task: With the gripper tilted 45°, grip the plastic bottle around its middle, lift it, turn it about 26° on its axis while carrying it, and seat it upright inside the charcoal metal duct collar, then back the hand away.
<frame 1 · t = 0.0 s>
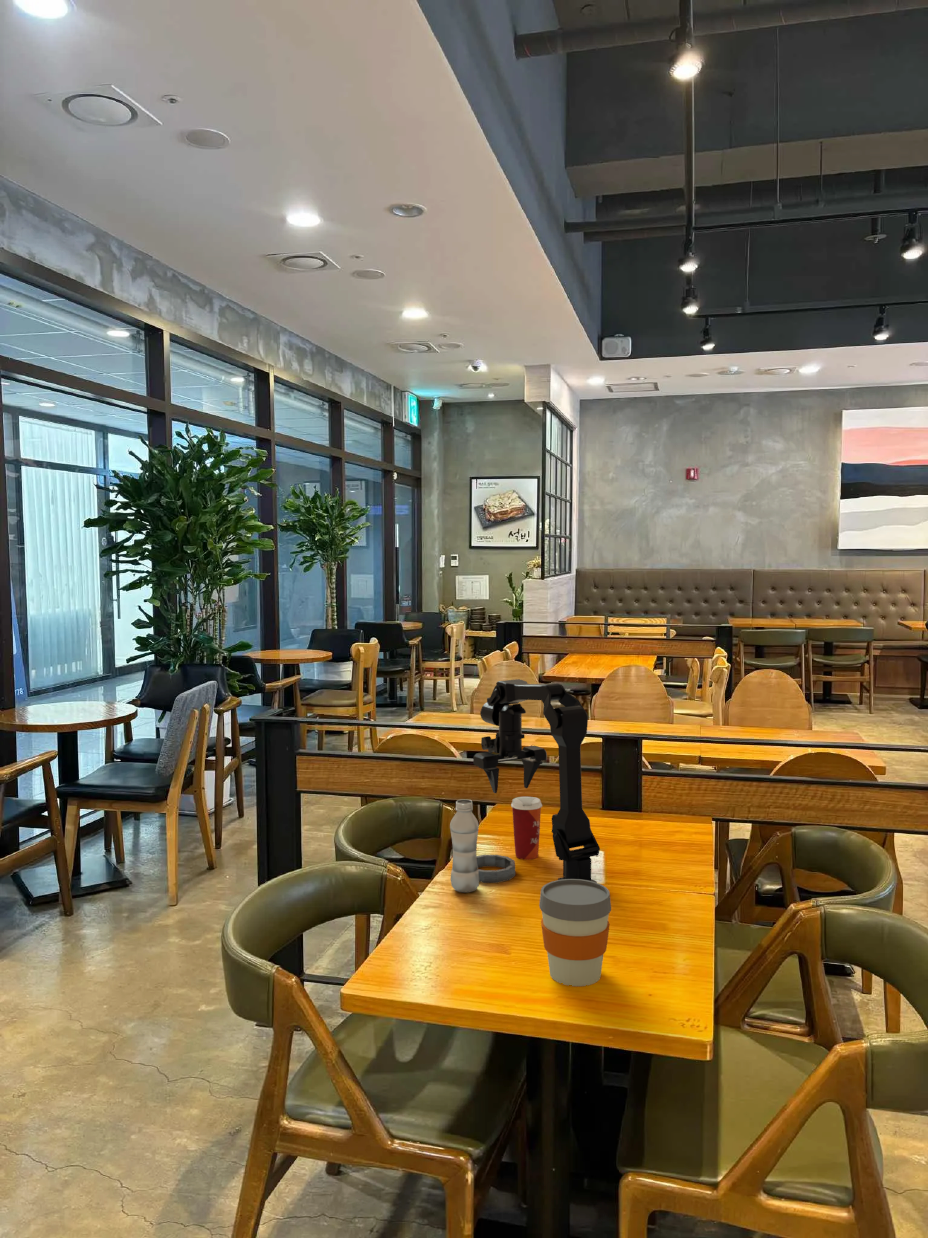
hand: (510, 790, 223), 15 cm above the table, tool pointing down, fingers open, 9 cm apart
duct collar: (490, 873, 205), on the table
reusable coffee cup: (575, 975, 156), on the table
plastic bottle: (465, 891, 195), on the table
paper cup: (526, 856, 217), on the table
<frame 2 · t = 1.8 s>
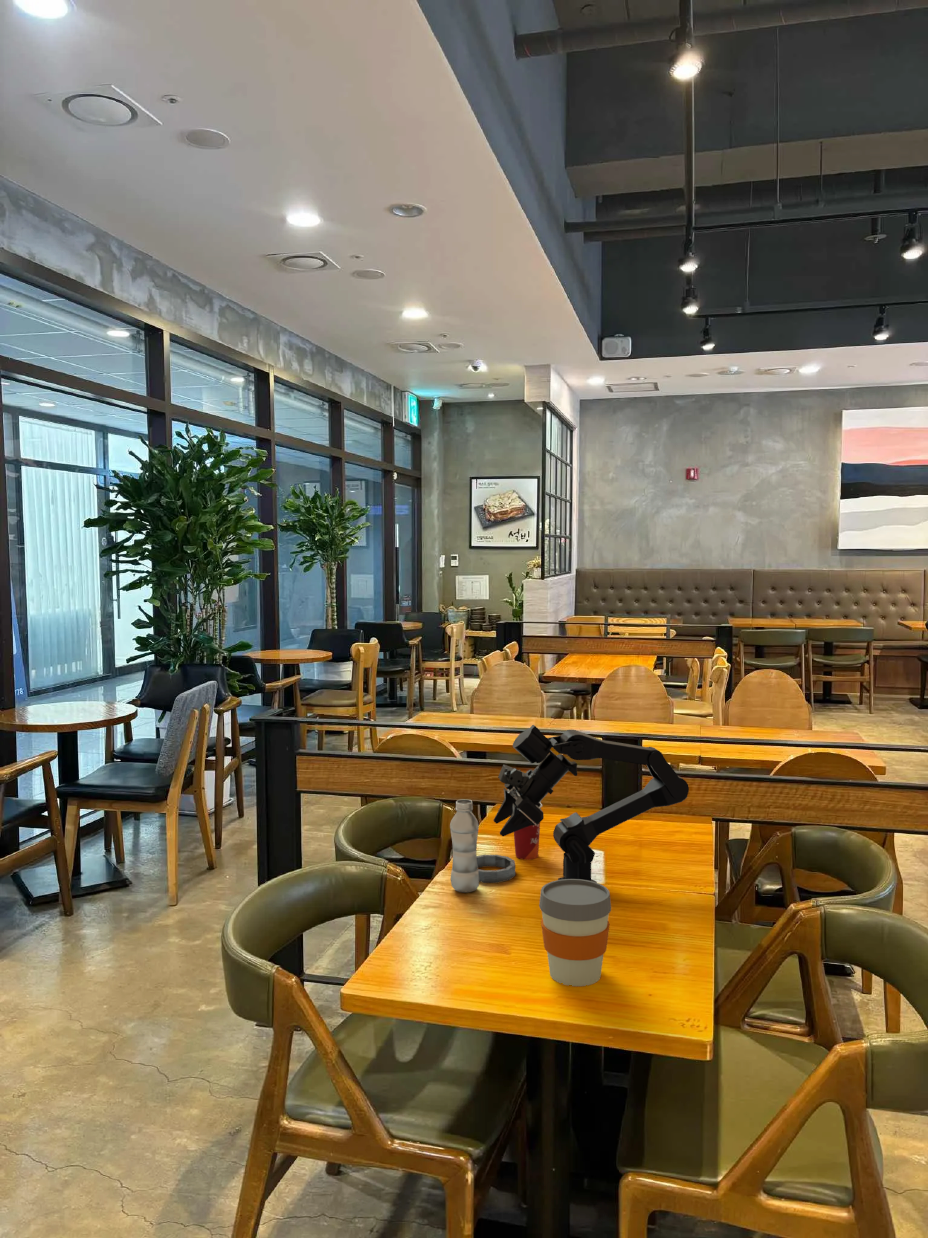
hand: (497, 828, 196), 13 cm above the table, tool tilted 45°, fingers open, 9 cm apart
nothing on the table moved.
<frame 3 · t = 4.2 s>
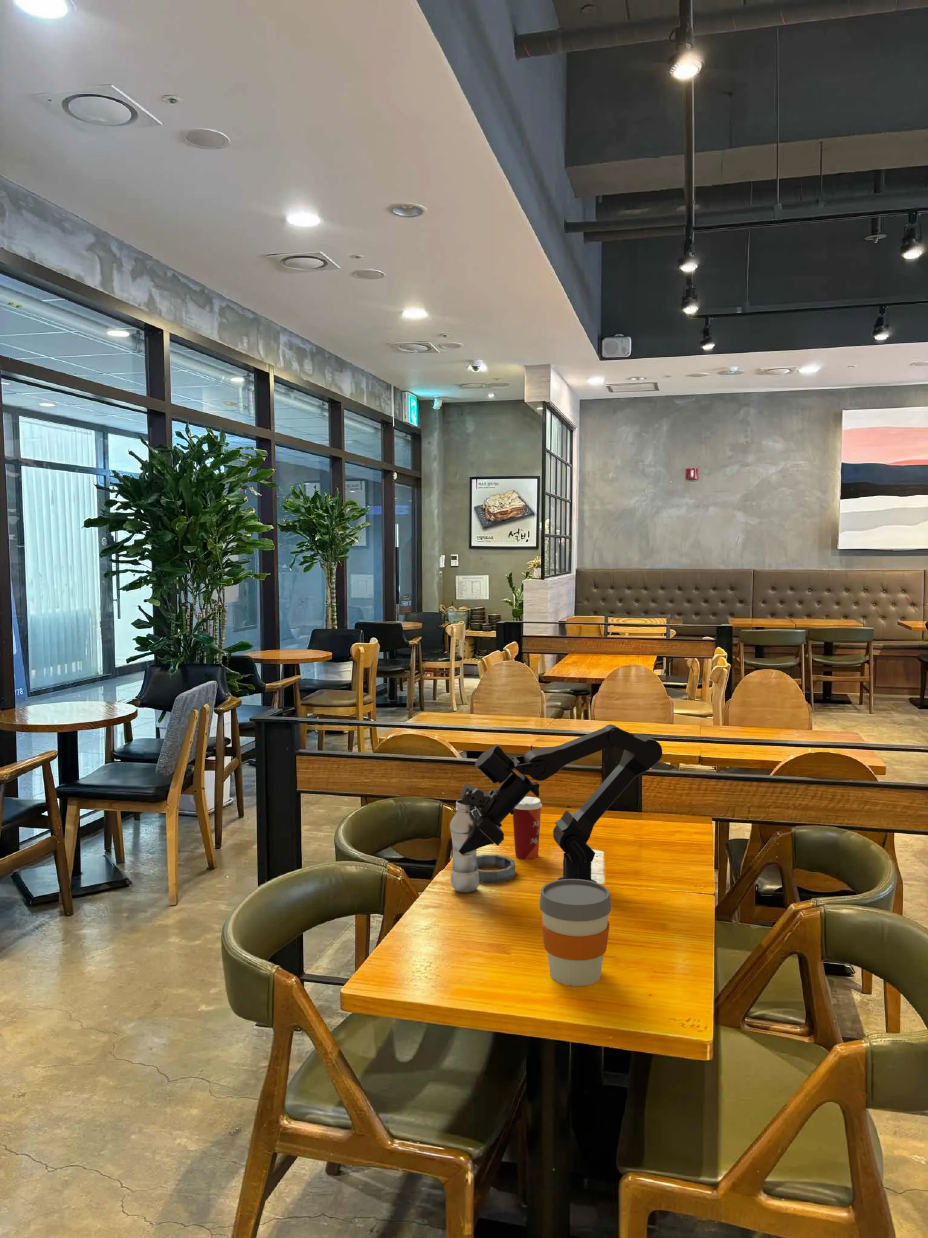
hand: (458, 848, 194), 10 cm above the table, tool tilted 45°, fingers closed on plastic bottle, 6 cm apart
plastic bottle: (465, 891, 195), on the table, touching gripper
everything else where it was.
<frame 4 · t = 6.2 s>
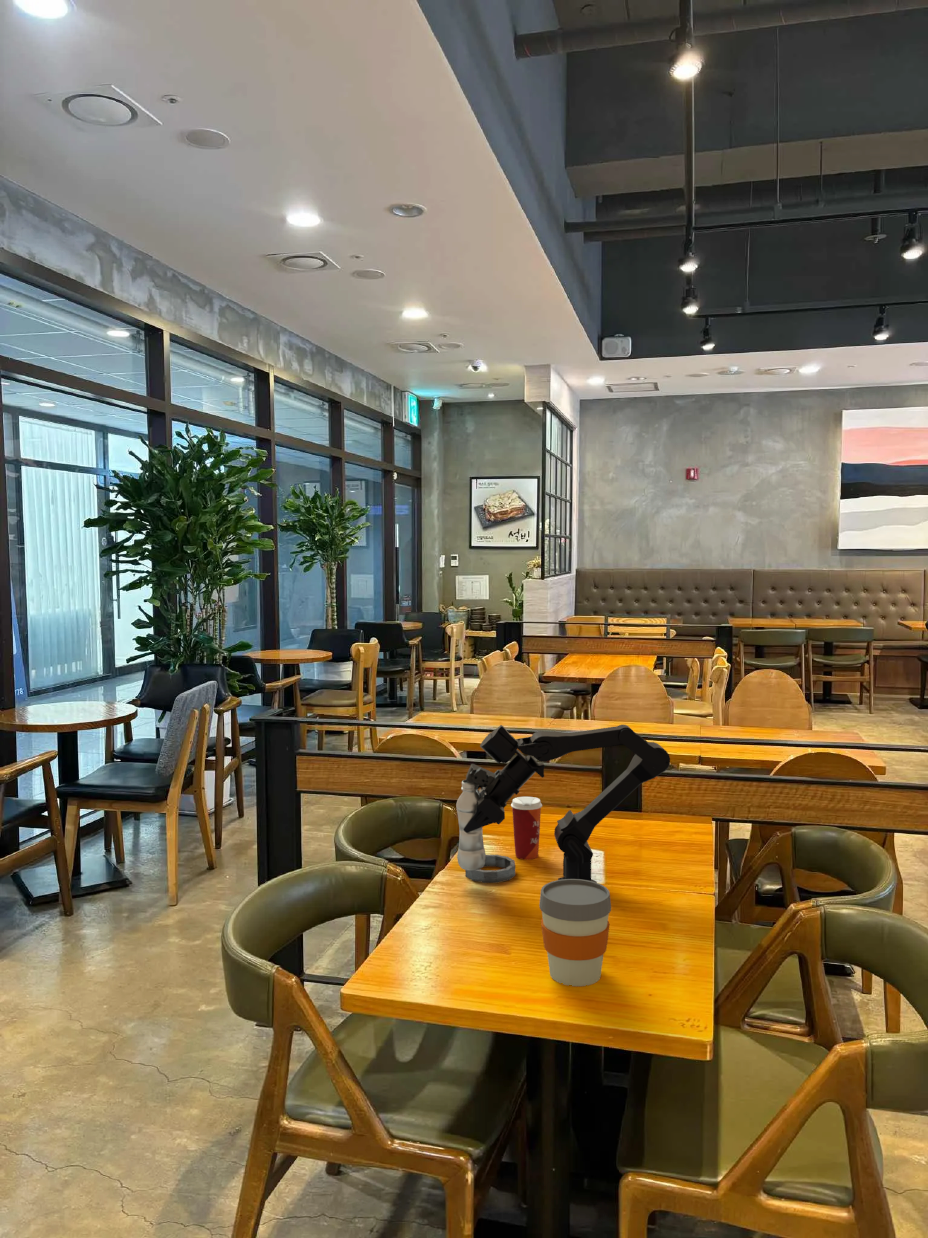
hand: (464, 826, 198), 13 cm above the table, tool tilted 45°, fingers closed on plastic bottle, 6 cm apart
plastic bottle: (471, 869, 198), point 3 cm above the table, touching gripper
everything else where it was.
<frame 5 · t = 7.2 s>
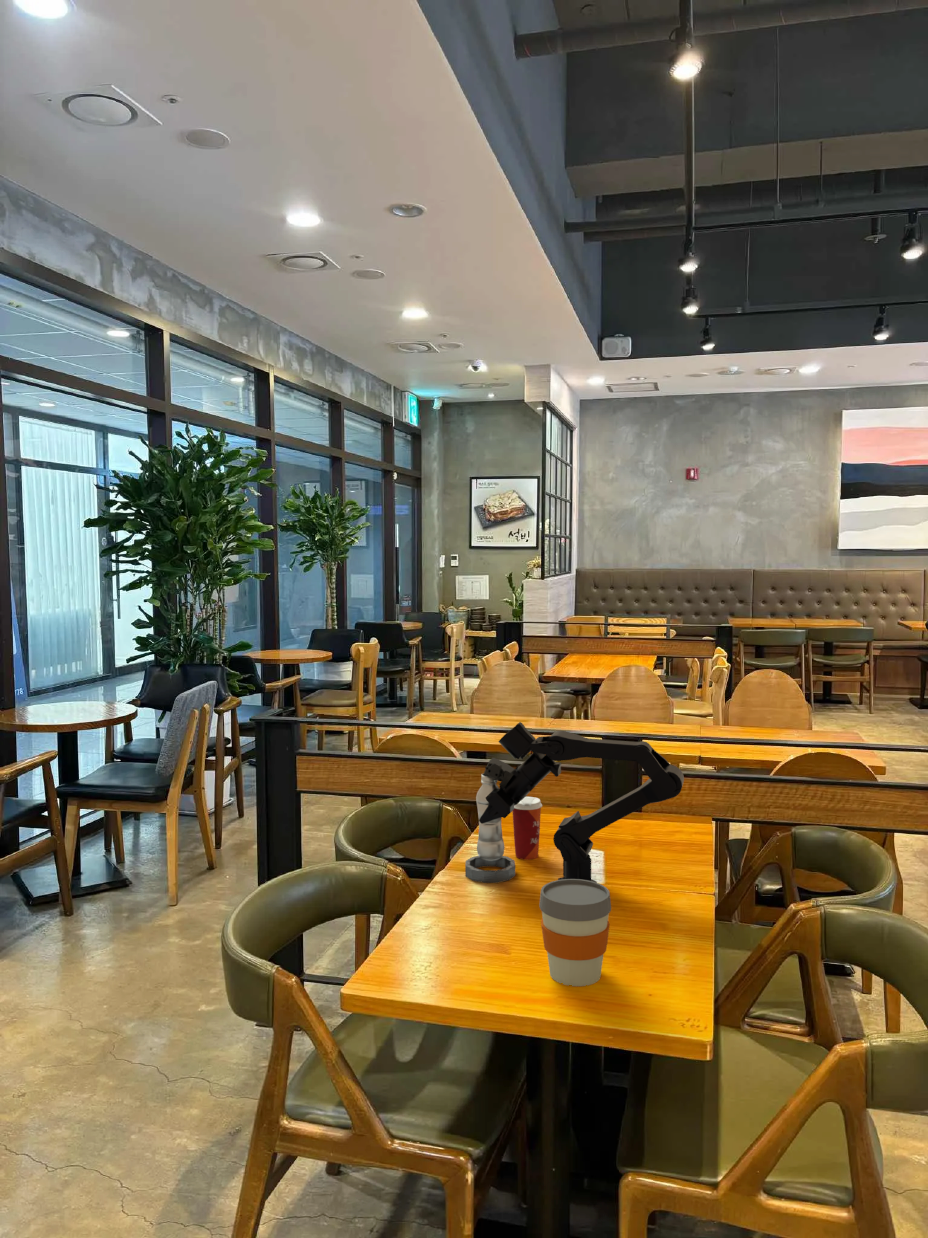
hand: (484, 818, 205), 13 cm above the table, tool tilted 45°, fingers closed on plastic bottle, 6 cm apart
plastic bottle: (490, 859, 205), point 3 cm above the table, touching gripper
everything else where it was.
when the fingers open (11 cm above the table, at t = 8.1 s): plastic bottle drops 1 cm, resting in duct collar.
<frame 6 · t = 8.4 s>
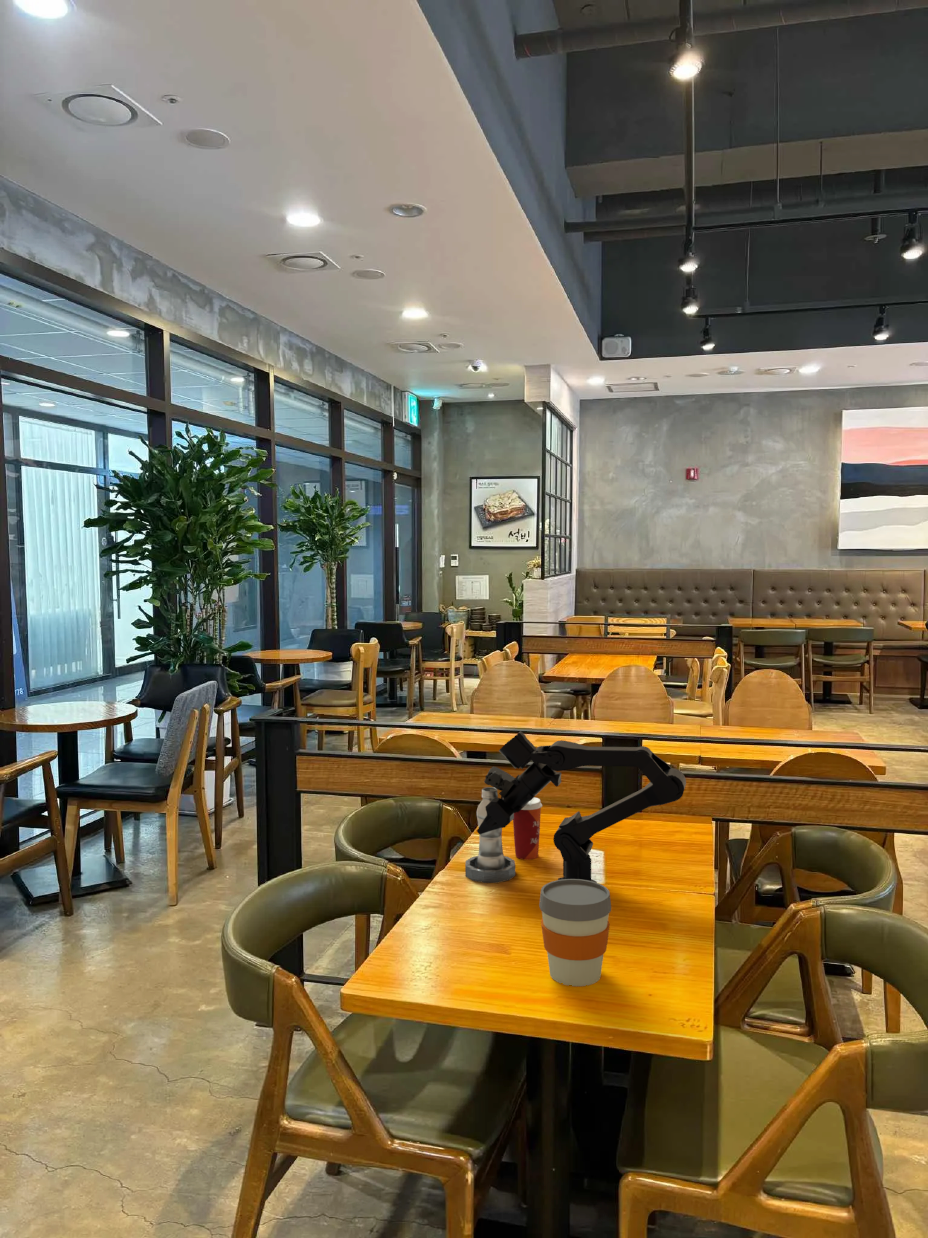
hand: (484, 826, 205), 11 cm above the table, tool tilted 45°, fingers open, 9 cm apart
plastic bottle: (491, 874, 205), resting in duct collar
everything else where it was.
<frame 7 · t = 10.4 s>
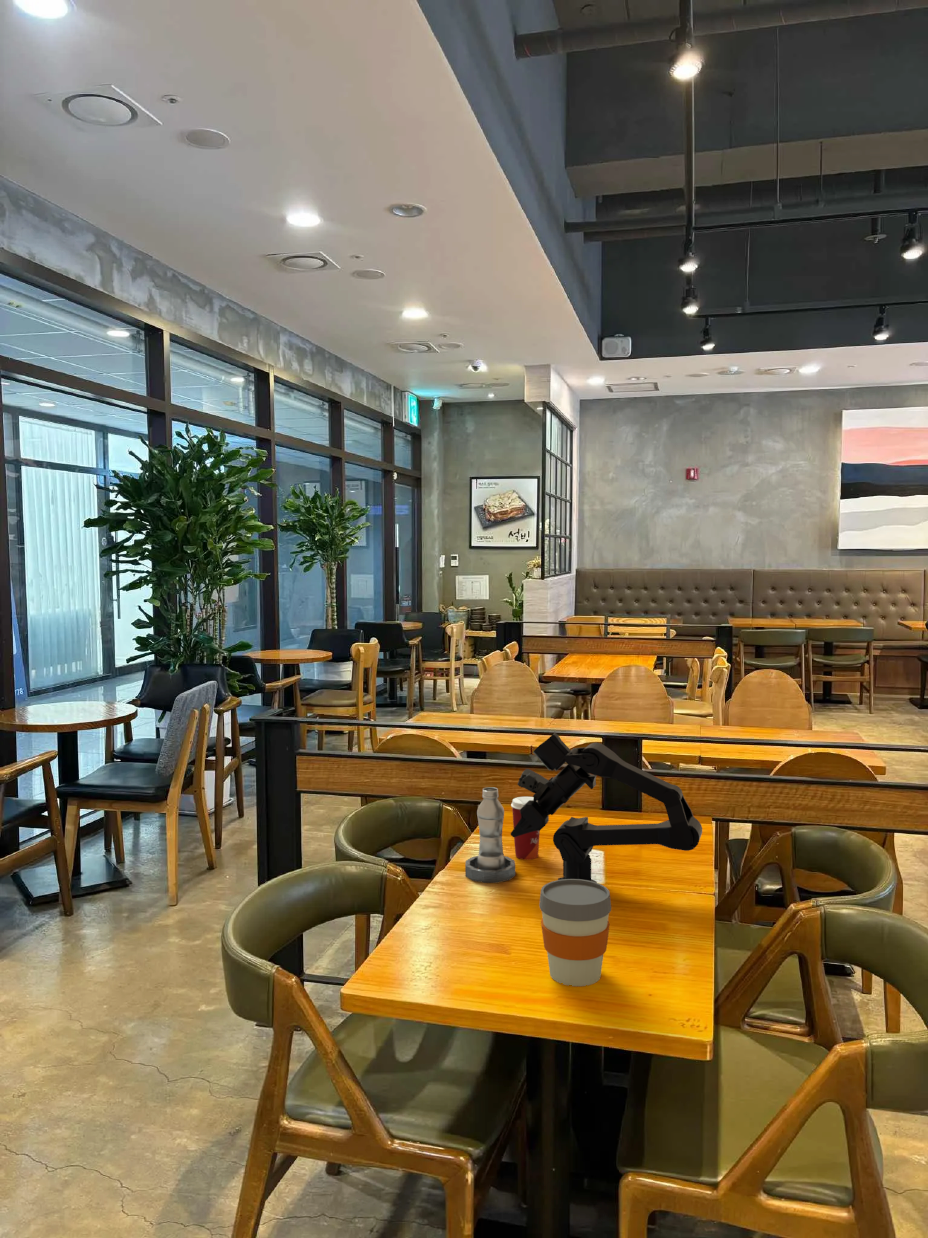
hand: (517, 829, 203), 11 cm above the table, tool tilted 45°, fingers open, 9 cm apart
nothing on the table moved.
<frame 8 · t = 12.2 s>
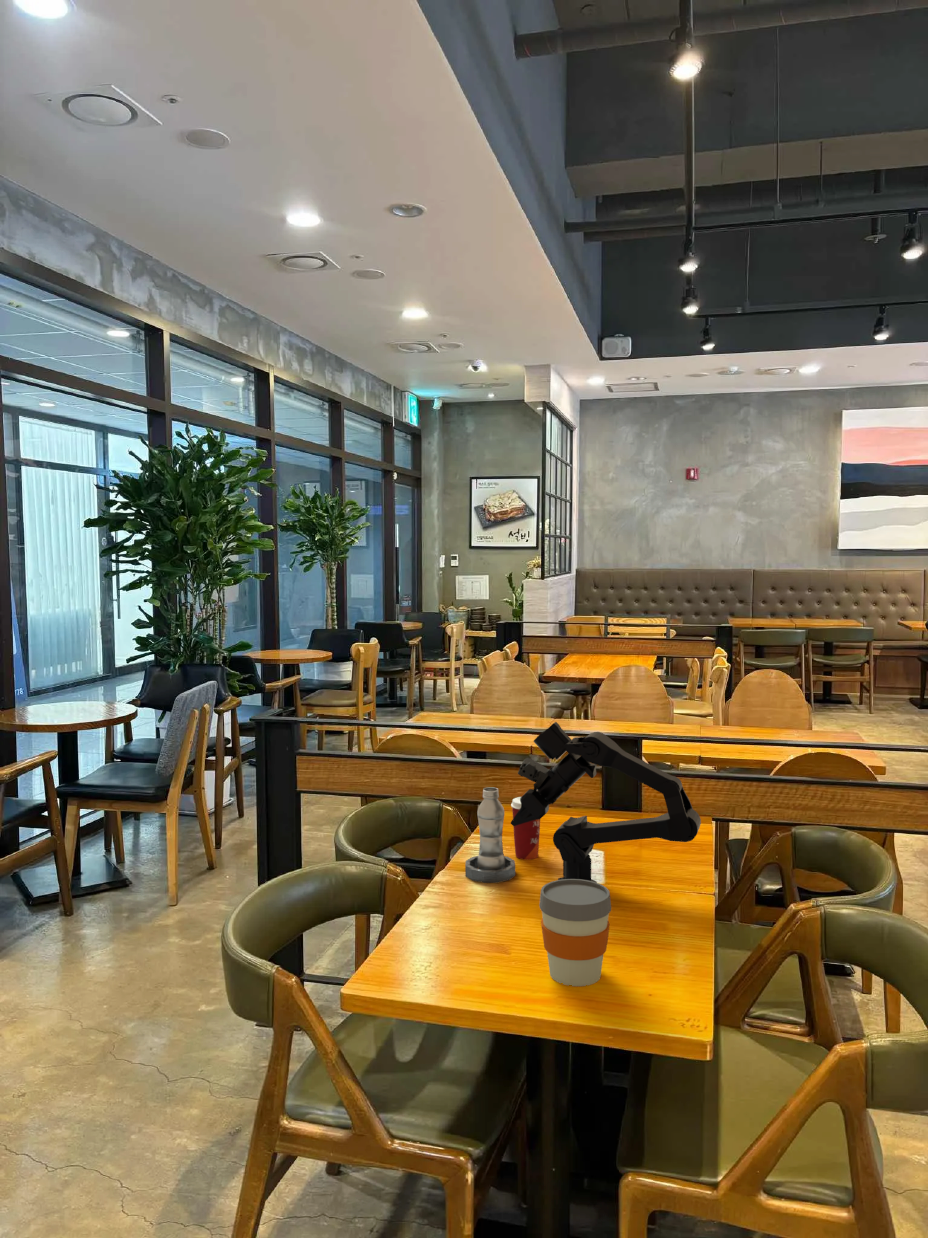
hand: (517, 818, 202), 14 cm above the table, tool tilted 45°, fingers open, 9 cm apart
nothing on the table moved.
at the end: plastic bottle 0.3 cm off-centre on the duct collar, point 0.0 cm above the duct collar's base; plastic bottle tilted 0°; the gripper is holding nothing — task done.
